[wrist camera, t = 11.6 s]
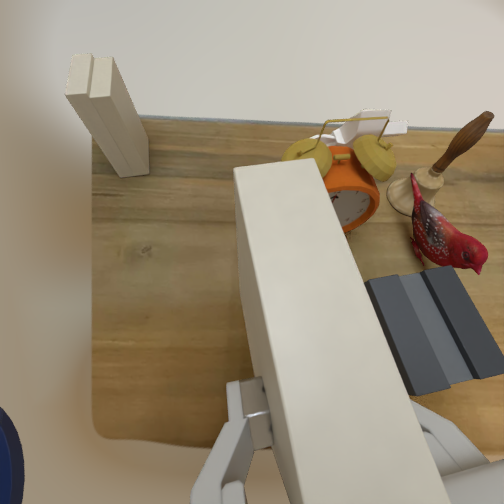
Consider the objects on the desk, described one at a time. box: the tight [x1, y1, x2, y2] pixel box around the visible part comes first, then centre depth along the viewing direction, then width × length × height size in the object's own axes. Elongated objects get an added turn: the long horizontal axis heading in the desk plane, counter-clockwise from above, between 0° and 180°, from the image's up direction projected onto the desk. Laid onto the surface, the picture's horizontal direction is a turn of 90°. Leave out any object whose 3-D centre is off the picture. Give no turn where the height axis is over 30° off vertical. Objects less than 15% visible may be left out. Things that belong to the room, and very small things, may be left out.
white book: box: [233, 158, 451, 504], centre depth 12 cm, size 3×9×14 cm, turn 11°
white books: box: [65, 53, 150, 178], centre depth 40 cm, size 5×9×15 cm, turn 11°
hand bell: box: [387, 111, 494, 217], centre depth 37 cm, size 8×8×16 cm
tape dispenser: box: [311, 109, 408, 149], centre depth 40 cm, size 8×14×14 cm, turn 96°
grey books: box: [364, 265, 504, 396], centre depth 27 cm, size 8×9×15 cm
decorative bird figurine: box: [410, 173, 488, 275], centre depth 36 cm, size 3×18×10 cm, turn 8°
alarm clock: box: [281, 116, 396, 233], centre depth 32 cm, size 13×6×20 cm, turn 97°
